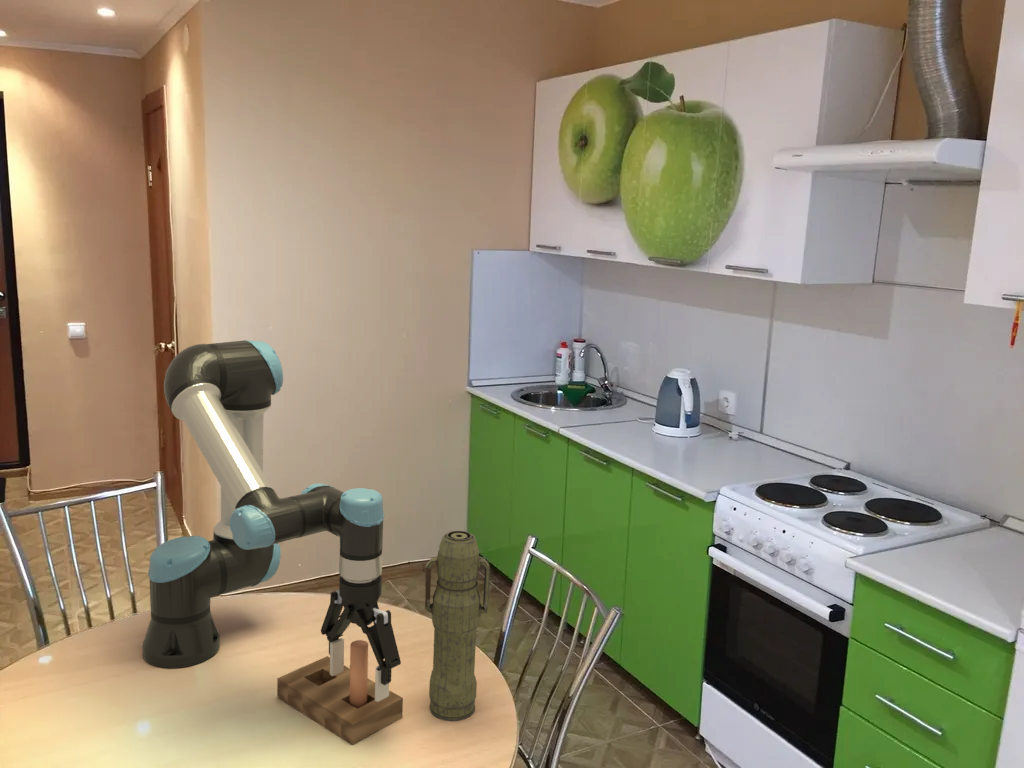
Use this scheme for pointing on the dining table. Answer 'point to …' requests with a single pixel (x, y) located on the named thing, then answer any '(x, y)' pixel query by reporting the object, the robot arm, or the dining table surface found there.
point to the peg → (358, 673)
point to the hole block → (337, 701)
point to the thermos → (455, 624)
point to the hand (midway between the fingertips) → (358, 685)
